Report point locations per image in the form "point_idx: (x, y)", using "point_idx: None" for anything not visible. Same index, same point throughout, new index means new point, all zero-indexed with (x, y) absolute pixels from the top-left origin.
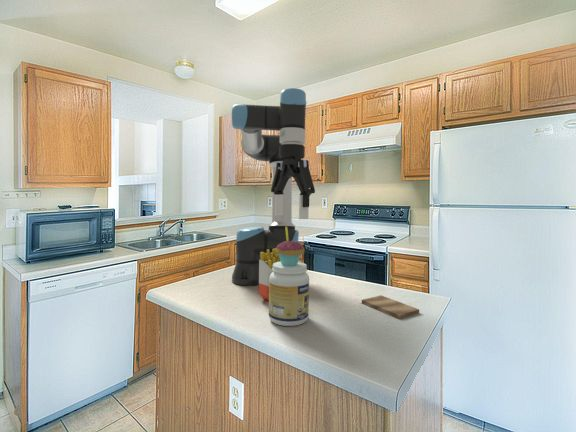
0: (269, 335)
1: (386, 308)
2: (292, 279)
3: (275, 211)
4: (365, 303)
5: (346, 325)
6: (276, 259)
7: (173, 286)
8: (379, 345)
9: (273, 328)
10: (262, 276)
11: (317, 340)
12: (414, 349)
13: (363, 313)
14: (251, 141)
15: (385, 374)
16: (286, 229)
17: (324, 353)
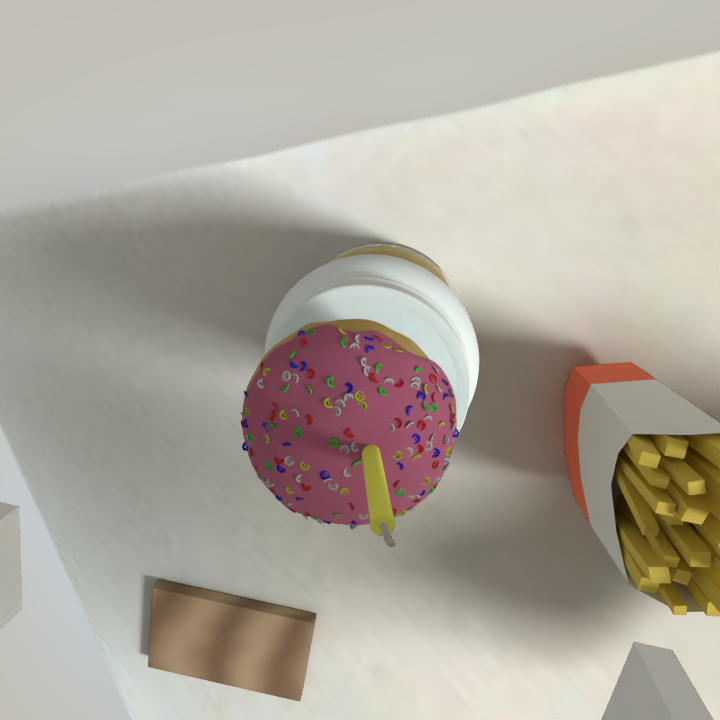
0: (320, 170)
1: (210, 609)
2: (281, 314)
3: (681, 701)
4: (296, 612)
5: (221, 428)
6: (673, 538)
7: None
8: (78, 390)
9: (355, 219)
10: (646, 396)
11: (198, 275)
12: (18, 438)
13: (252, 543)
14: None
15: None
16: (371, 503)
17: (127, 229)
